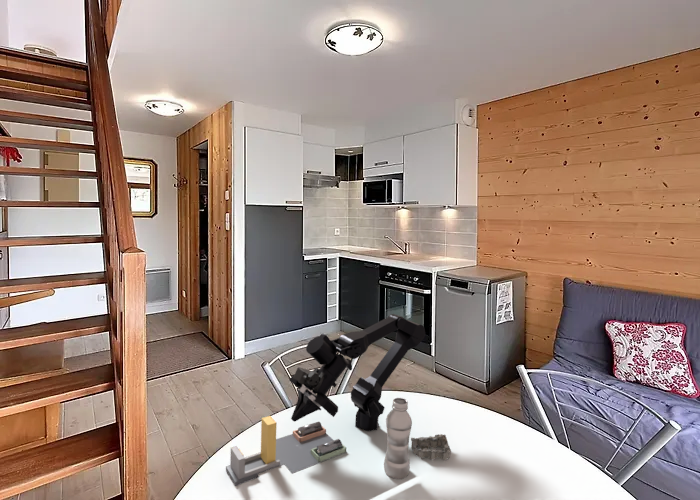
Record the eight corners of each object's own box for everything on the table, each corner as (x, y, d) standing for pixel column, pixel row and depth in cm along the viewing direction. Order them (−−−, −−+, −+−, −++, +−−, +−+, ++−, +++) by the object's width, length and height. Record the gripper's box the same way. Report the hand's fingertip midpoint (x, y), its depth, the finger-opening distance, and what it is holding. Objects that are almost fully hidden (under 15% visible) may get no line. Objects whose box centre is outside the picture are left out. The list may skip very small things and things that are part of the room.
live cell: (336, 446, 114) (337, 436, 113) (341, 451, 111) (342, 442, 111) (314, 453, 110) (315, 444, 109) (320, 459, 107) (320, 450, 107)
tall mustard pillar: (269, 454, 108) (270, 415, 107) (275, 462, 105) (276, 422, 104) (260, 457, 107) (261, 418, 106) (266, 465, 104) (267, 425, 102)
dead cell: (317, 429, 122) (317, 420, 122) (321, 432, 120) (322, 423, 120) (296, 435, 118) (296, 426, 118) (301, 439, 116) (301, 430, 116)
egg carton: (446, 447, 118) (447, 433, 118) (451, 463, 110) (452, 449, 110) (409, 444, 118) (410, 431, 118) (412, 460, 111) (413, 446, 110)
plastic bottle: (408, 485, 100) (413, 409, 98) (381, 480, 101) (385, 405, 99) (410, 469, 106) (414, 397, 104) (384, 465, 108) (388, 393, 106)
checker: (317, 428, 124) (318, 410, 123) (347, 455, 111) (347, 435, 111) (220, 460, 107) (220, 439, 106) (241, 496, 94) (242, 472, 93)
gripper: (296, 346, 118) (259, 391, 113) (330, 369, 103) (290, 421, 98) (318, 367, 123) (284, 411, 118) (353, 391, 108) (316, 442, 103)
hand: (292, 420), depth 109 cm, fingers closed
